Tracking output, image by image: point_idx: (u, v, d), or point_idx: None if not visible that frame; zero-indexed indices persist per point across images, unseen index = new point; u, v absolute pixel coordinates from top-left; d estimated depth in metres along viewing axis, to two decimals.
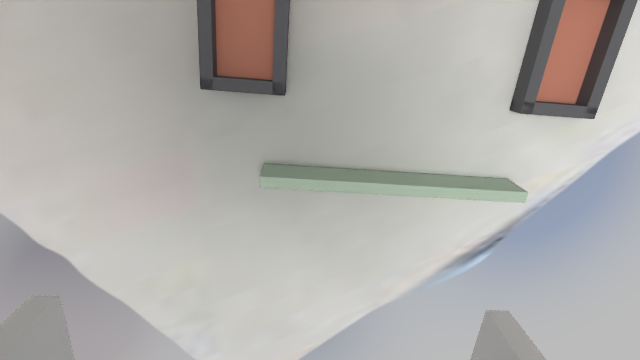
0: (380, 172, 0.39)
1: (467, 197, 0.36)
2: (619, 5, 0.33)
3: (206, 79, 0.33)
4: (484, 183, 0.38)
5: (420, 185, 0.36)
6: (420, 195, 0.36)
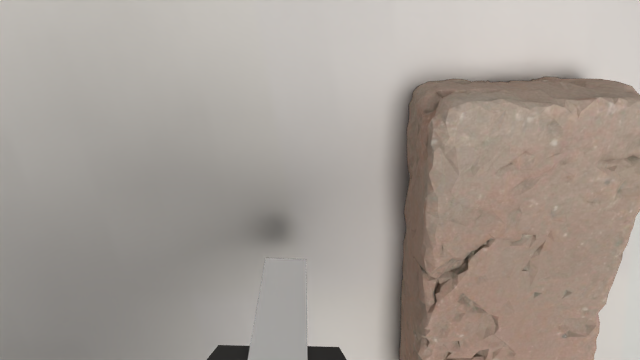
0: None
1: None
2: None
3: None
4: None
5: None
6: None
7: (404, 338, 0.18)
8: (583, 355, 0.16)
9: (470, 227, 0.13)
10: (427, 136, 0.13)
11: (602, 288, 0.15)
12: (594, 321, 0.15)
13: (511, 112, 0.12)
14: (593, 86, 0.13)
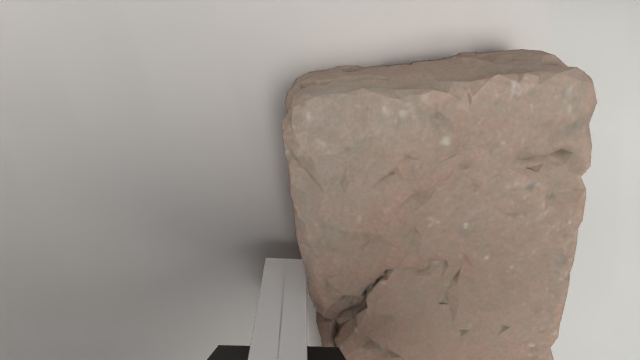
0: None
1: None
2: None
3: None
4: None
5: None
6: None
7: None
8: None
9: (357, 257, 0.10)
10: None
11: (549, 319, 0.11)
12: (545, 359, 0.12)
13: (375, 105, 0.08)
14: (505, 59, 0.10)
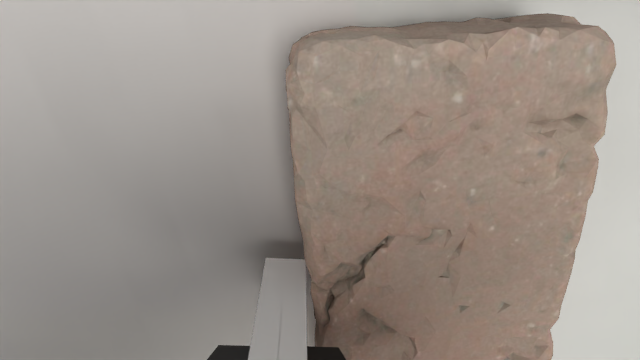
0: None
1: None
2: None
3: None
4: None
5: None
6: None
7: None
8: None
9: (357, 221, 0.10)
10: None
11: (551, 298, 0.11)
12: (544, 340, 0.12)
13: (386, 53, 0.08)
14: (521, 20, 0.09)
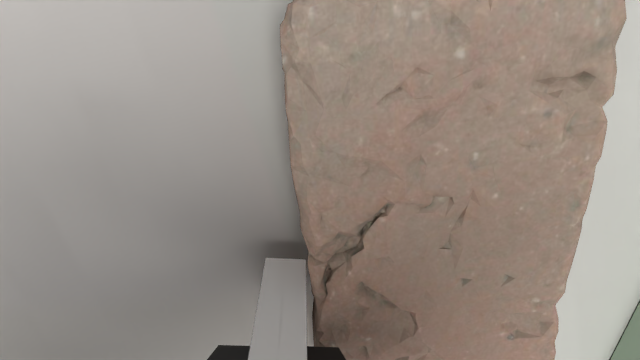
0: None
1: None
2: None
3: None
4: None
5: None
6: None
7: None
8: None
9: (355, 187, 0.09)
10: None
11: (556, 271, 0.11)
12: (549, 316, 0.11)
13: (385, 3, 0.08)
14: None
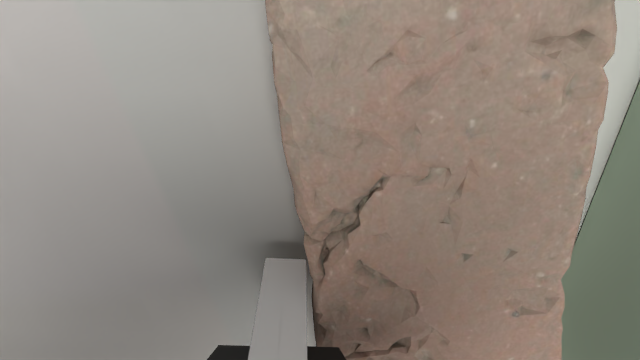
0: None
1: None
2: None
3: None
4: None
5: None
6: None
7: None
8: (546, 340, 0.11)
9: (349, 160, 0.09)
10: None
11: (561, 243, 0.10)
12: (555, 291, 0.11)
13: None
14: None
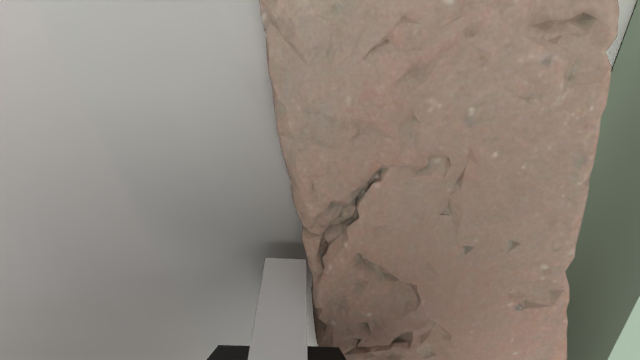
0: None
1: None
2: None
3: None
4: None
5: (636, 288, 0.11)
6: None
7: None
8: (551, 333, 0.11)
9: (346, 151, 0.09)
10: None
11: (565, 234, 0.10)
12: (559, 284, 0.11)
13: None
14: None
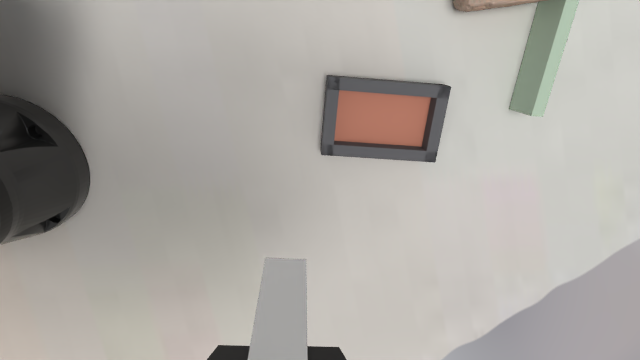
0: None
1: None
2: None
3: (427, 156, 0.37)
4: None
5: None
6: None
7: None
8: None
9: None
10: None
11: None
12: None
13: None
14: None
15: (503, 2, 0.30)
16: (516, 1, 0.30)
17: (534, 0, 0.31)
